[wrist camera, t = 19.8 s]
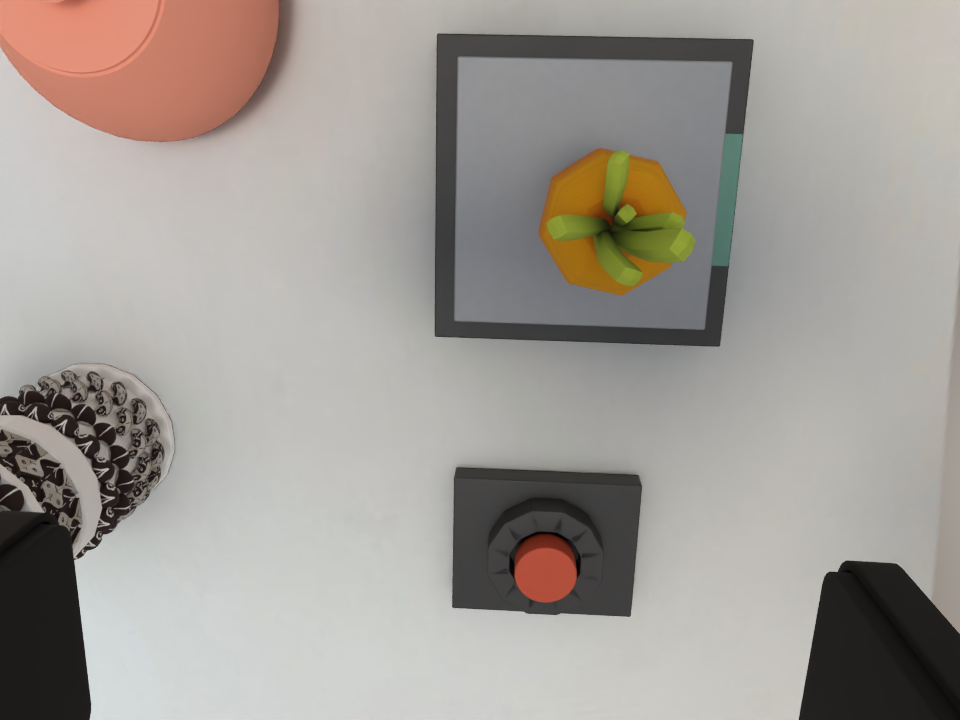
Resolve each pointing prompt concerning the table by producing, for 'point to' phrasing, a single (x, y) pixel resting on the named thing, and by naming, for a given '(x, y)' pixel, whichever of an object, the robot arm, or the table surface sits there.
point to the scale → (558, 144)
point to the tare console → (545, 510)
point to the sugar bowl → (142, 60)
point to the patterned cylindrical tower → (83, 449)
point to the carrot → (613, 222)
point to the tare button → (545, 568)
